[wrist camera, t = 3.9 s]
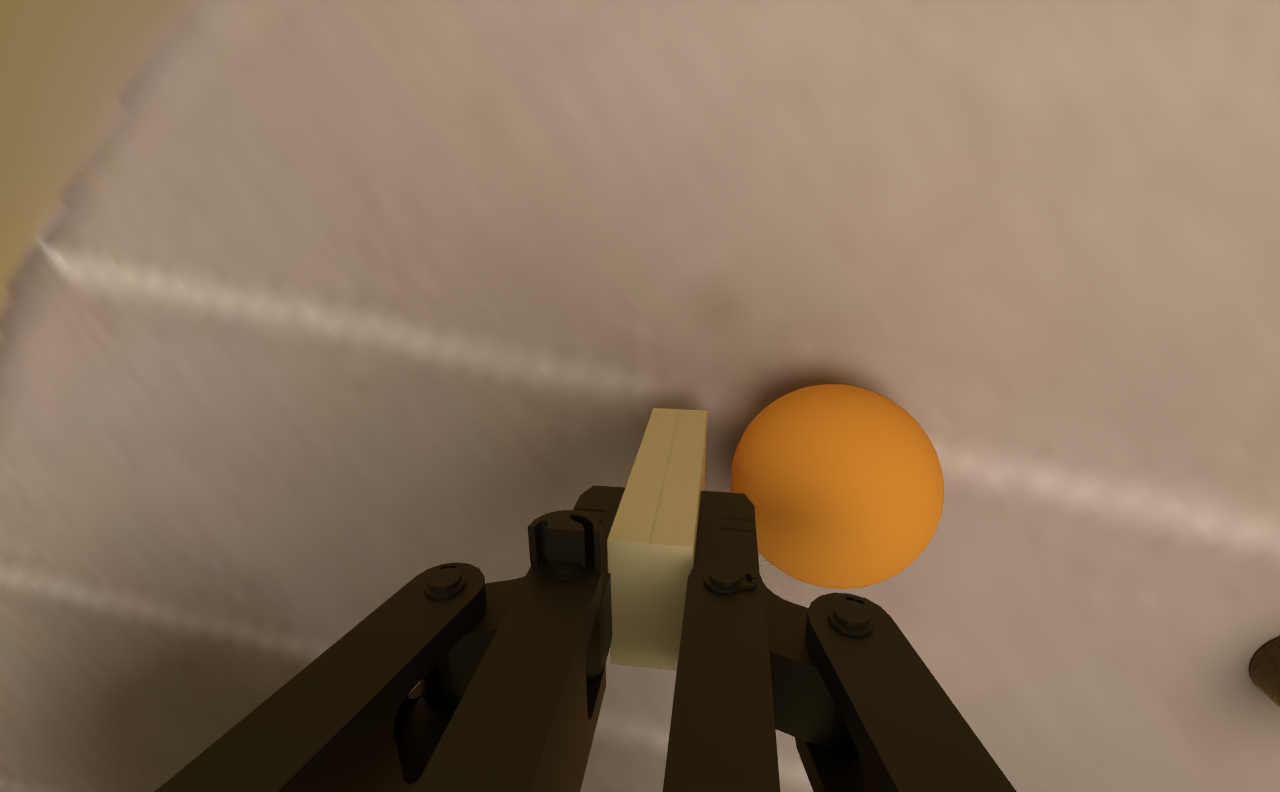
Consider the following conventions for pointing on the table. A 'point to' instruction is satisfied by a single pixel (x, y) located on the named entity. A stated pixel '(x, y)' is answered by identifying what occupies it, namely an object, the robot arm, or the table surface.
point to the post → (1267, 670)
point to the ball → (839, 485)
